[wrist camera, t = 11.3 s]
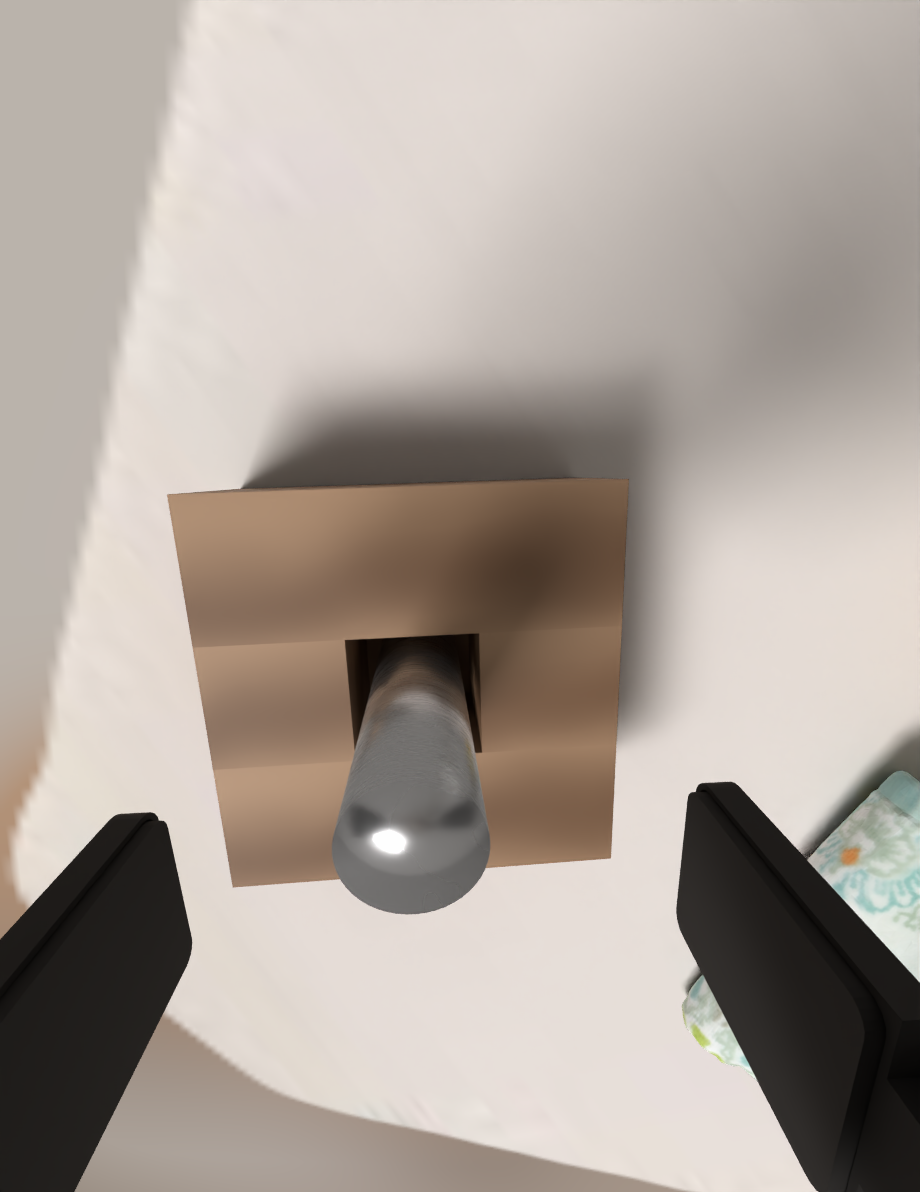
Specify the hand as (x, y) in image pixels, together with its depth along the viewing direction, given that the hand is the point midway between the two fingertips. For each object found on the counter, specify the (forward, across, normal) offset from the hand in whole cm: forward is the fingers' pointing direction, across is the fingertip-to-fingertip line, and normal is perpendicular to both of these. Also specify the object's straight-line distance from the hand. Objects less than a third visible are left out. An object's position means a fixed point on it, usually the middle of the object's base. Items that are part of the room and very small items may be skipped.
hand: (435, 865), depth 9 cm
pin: (+13, +1, +1) cm, 13 cm away
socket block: (+14, +1, +1) cm, 14 cm away
